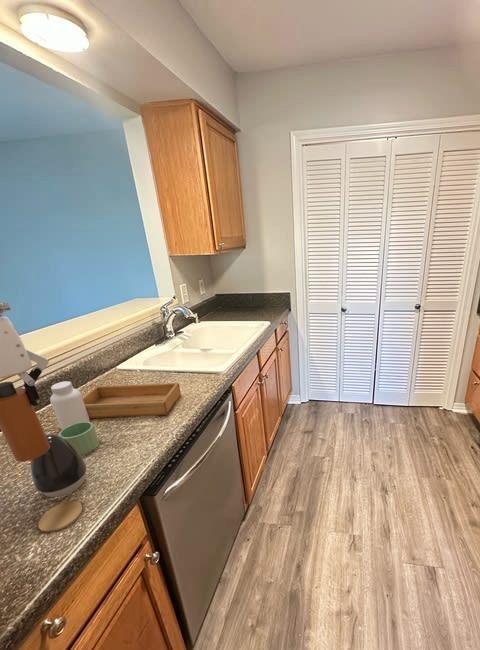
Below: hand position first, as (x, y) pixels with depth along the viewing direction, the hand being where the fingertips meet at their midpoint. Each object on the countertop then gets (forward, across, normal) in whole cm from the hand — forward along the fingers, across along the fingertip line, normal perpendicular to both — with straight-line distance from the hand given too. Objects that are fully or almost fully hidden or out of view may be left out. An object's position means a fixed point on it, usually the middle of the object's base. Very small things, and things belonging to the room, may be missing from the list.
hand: (13, 409), depth 60 cm
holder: (+27, -10, -25) cm, 38 cm away
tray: (+27, -29, -39) cm, 56 cm away
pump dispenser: (+27, -3, -9) cm, 29 cm away
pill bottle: (+27, -12, -40) cm, 50 cm away
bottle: (+10, 0, 0) cm, 10 cm away
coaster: (+27, 0, 0) cm, 27 cm away
